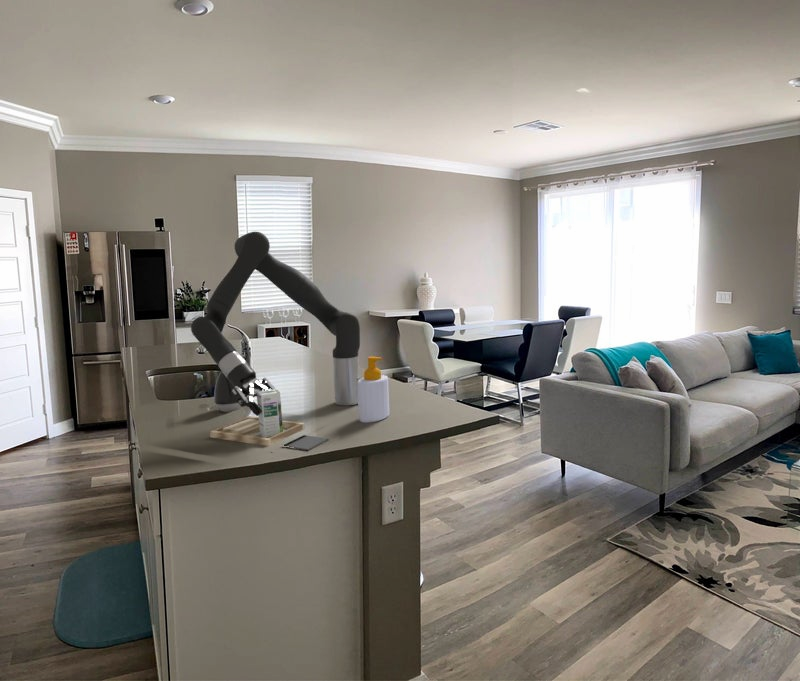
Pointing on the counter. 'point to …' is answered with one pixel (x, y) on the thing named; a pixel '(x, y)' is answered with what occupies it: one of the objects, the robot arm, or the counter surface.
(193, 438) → the counter surface
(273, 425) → the syrup box
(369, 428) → the counter surface
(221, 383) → the dark grey tapered dome
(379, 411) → the soap bottle
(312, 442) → the pad
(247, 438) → the offcut rack
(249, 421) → the offcut top
